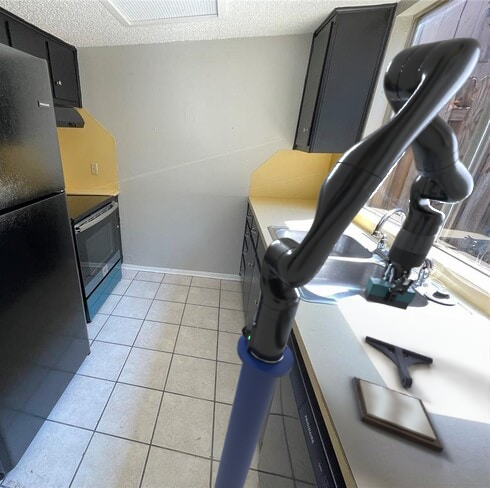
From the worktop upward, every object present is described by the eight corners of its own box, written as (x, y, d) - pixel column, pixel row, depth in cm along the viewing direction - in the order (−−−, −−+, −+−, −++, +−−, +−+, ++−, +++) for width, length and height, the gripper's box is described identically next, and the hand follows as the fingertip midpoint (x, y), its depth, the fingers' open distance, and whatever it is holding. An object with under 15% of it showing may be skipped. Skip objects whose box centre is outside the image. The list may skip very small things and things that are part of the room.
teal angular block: (365, 300, 78) (373, 283, 75) (362, 293, 82) (369, 276, 79) (407, 310, 74) (416, 293, 72) (401, 302, 78) (410, 285, 75)
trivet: (360, 420, 54) (363, 415, 54) (352, 379, 64) (354, 374, 63) (441, 452, 50) (445, 447, 49) (418, 403, 59) (422, 397, 58)
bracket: (368, 374, 65) (373, 366, 64) (364, 338, 77) (368, 331, 75) (446, 406, 58) (452, 398, 57) (428, 361, 70) (433, 354, 69)
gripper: (386, 235, 78) (365, 283, 85) (402, 253, 66) (376, 307, 73) (417, 240, 75) (393, 289, 82) (440, 260, 63) (409, 315, 70)
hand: (385, 297), depth 77 cm, fingers closed on teal angular block, 4 cm apart
